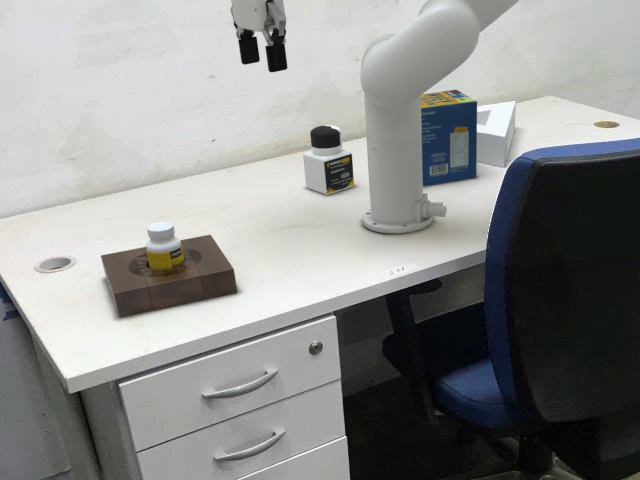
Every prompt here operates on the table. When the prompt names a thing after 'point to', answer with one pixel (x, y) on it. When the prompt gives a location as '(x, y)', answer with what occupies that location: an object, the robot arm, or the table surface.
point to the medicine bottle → (328, 162)
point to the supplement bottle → (163, 247)
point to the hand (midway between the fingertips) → (264, 66)
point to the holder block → (168, 277)
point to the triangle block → (495, 132)
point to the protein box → (448, 137)
